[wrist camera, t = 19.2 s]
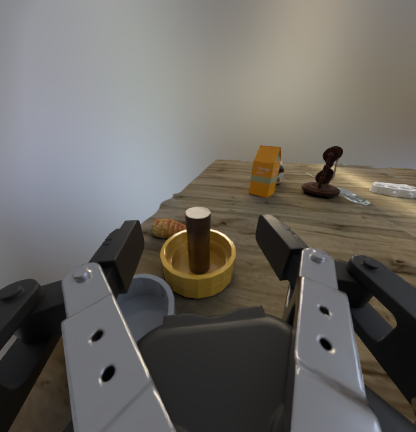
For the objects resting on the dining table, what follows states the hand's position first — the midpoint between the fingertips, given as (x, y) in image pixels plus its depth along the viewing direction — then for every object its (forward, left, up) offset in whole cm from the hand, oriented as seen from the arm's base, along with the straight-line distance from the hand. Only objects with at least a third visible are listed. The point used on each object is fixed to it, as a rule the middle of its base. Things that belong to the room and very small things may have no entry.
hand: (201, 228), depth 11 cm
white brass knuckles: (+105, -20, -21) cm, 109 cm away
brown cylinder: (+10, +11, -20) cm, 25 cm away
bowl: (+10, +12, -20) cm, 25 cm away
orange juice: (+61, +24, -21) cm, 68 cm away
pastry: (+13, +28, -21) cm, 37 cm away
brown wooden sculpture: (+80, +5, -21) cm, 83 cm away
